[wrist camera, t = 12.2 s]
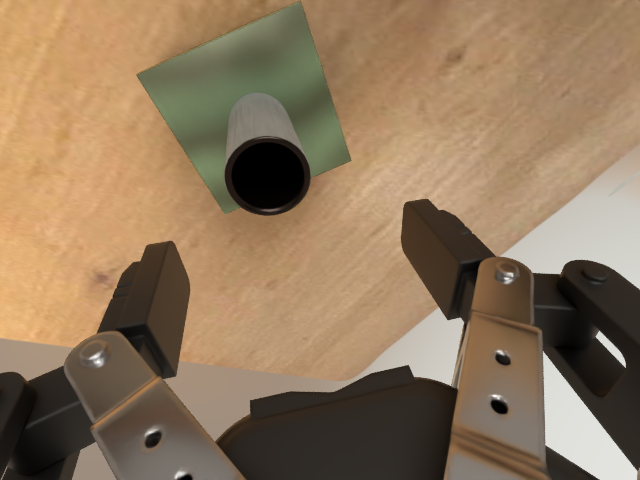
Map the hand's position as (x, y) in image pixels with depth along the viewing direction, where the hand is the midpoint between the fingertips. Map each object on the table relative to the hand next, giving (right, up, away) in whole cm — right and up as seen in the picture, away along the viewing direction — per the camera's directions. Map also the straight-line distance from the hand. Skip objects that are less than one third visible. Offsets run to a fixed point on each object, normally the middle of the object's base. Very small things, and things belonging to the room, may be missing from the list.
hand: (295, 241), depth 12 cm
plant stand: (-5, +13, +20) cm, 24 cm away
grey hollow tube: (-4, +9, +14) cm, 17 cm away
